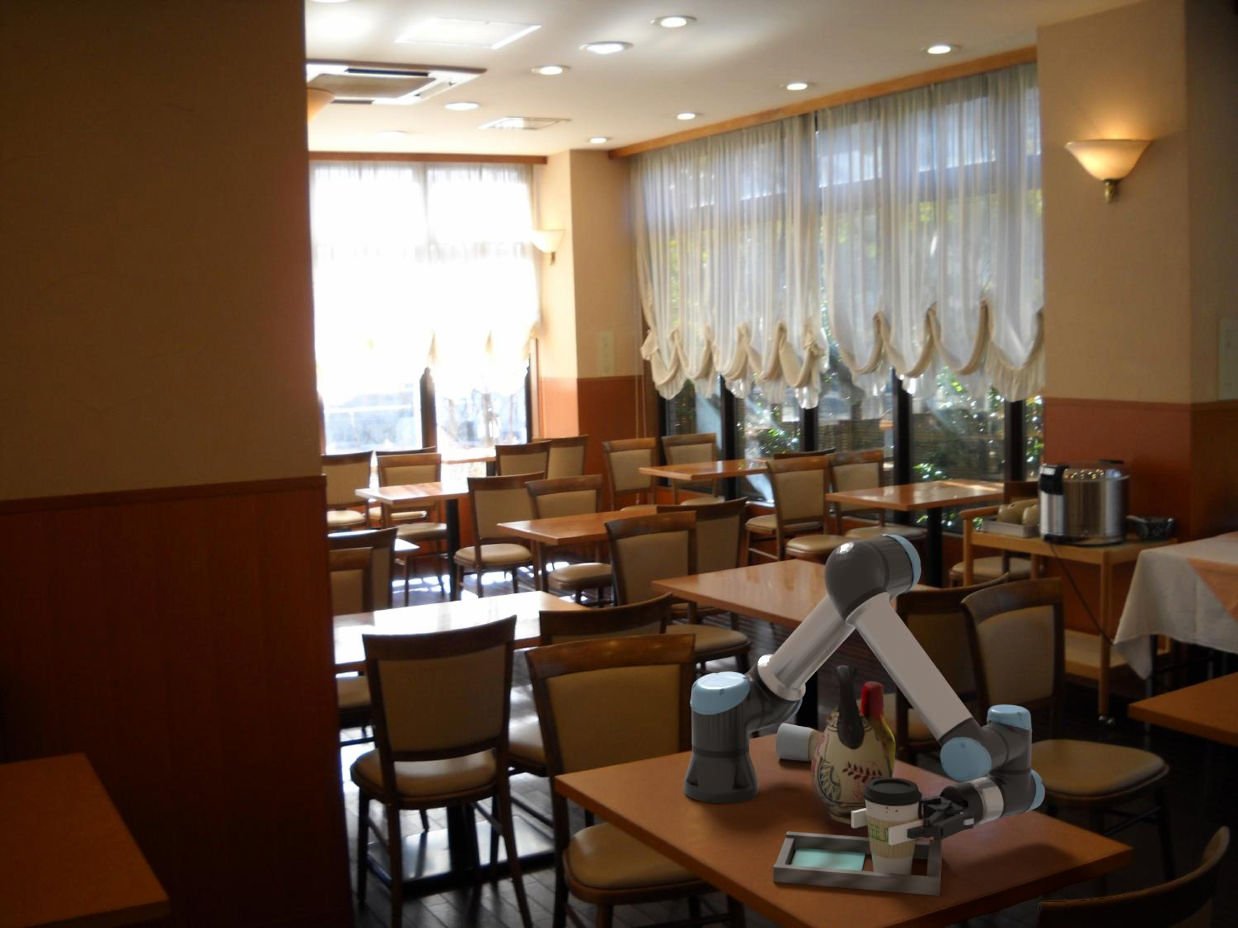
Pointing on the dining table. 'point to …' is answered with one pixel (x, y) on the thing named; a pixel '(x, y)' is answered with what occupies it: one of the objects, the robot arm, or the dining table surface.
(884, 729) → the bottle
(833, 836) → the bay
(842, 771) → the ceramic jug
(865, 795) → the coffee cup
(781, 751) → the ceramic mug
